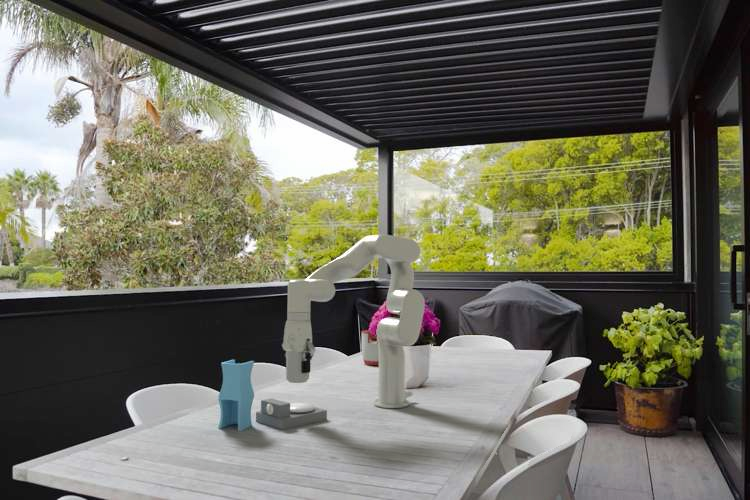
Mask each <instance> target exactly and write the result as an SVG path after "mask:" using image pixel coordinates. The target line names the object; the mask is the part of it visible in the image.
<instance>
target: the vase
mask: <svg viewBox="0 0 750 500" xmlns="http://www.w3.org/2000/svg"><path fill="white" fill-rule="evenodd" d="M254 364H255V361H254V360H250V361H247V362H243V363H236V359H230V360H227V361H224V362H223V361H222V362H221V364H220V365H221V369H222V384H221V388H220V391H219V394H218V399H217V400H218V404H219V407H220V419H219V424H218V428H217V429H220V430H221V429H223V428H225V427H228V426H230V425H237V431H240V432H241V431H244V430H245V429H247V428H249V427H252V426H253V424H252V423H253V422H252V412H251V411H252V406H253V403H254V402H253V401H254V397H255V391H254V388H253V385H252V381H251V380H252V371H253V367H254Z"/></svg>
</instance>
